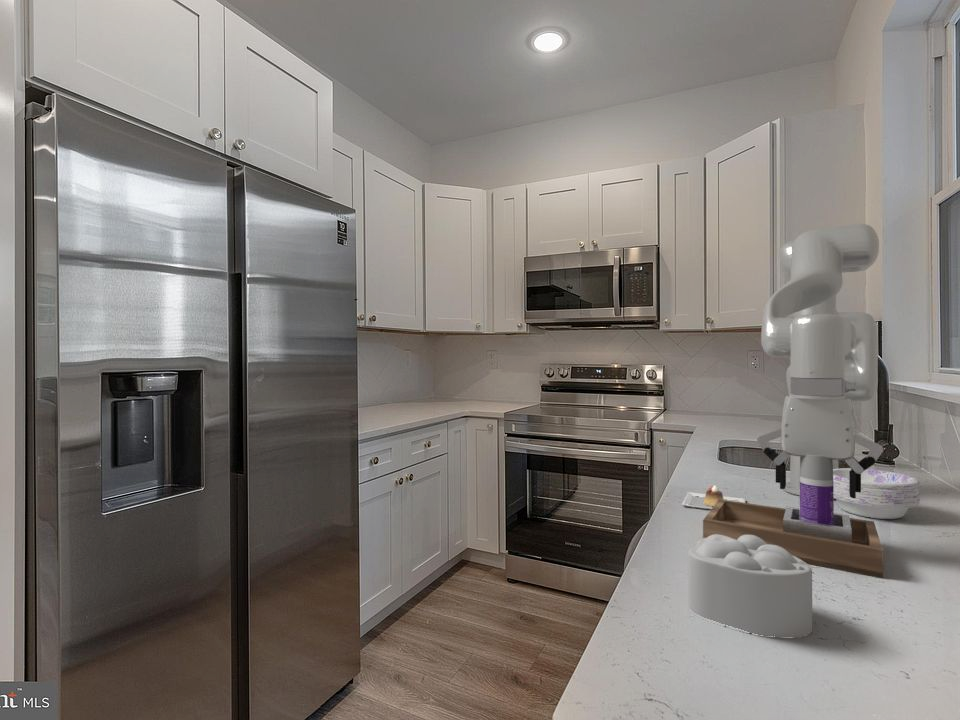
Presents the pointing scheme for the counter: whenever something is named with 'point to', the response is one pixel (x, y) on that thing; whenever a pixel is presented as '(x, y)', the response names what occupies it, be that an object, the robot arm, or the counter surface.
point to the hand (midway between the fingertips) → (816, 491)
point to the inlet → (818, 526)
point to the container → (816, 489)
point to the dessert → (708, 498)
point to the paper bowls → (877, 493)
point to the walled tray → (799, 537)
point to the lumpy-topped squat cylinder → (750, 586)
